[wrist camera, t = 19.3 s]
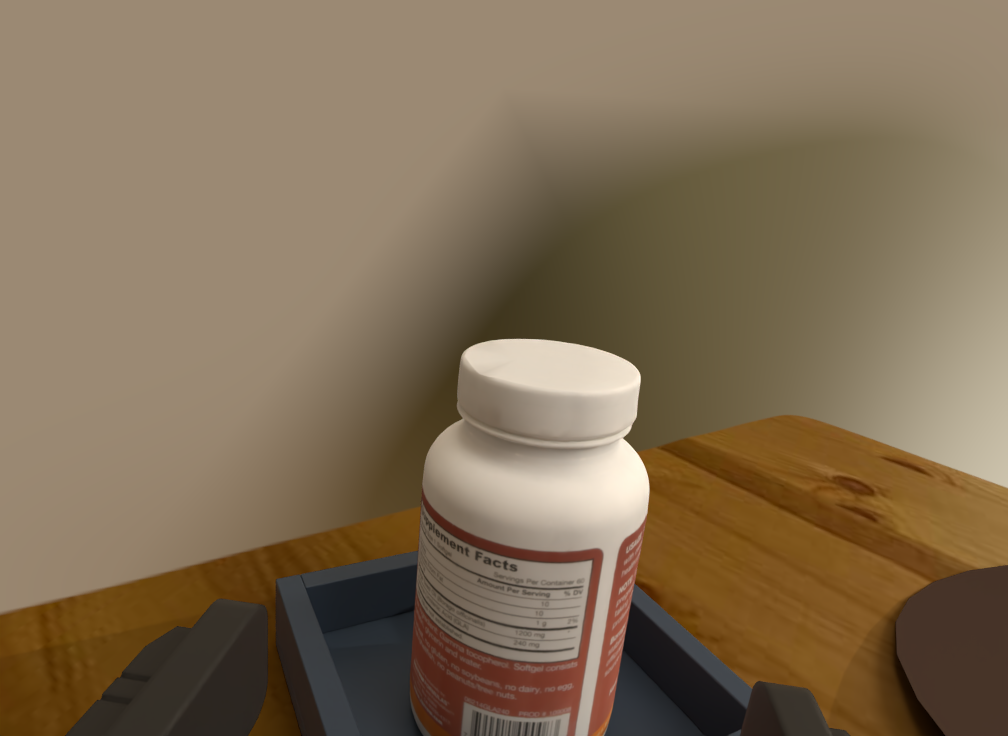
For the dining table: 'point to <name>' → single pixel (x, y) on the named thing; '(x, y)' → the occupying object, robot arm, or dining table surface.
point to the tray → (388, 649)
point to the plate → (959, 651)
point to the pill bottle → (528, 544)
